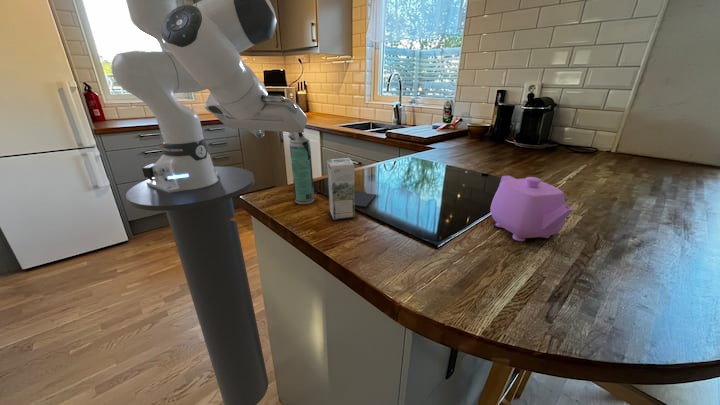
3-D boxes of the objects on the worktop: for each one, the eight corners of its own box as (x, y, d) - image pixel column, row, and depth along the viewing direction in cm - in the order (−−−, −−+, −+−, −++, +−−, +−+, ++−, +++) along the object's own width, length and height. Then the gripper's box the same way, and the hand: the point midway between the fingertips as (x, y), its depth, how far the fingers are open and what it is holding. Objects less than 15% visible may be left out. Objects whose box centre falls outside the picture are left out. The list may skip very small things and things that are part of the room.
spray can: (317, 198, 88) (312, 129, 80) (309, 205, 83) (303, 133, 75) (301, 196, 90) (294, 128, 82) (291, 203, 85) (284, 132, 77)
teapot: (474, 214, 77) (481, 167, 72) (516, 210, 79) (527, 164, 74) (529, 258, 59) (545, 199, 54) (582, 250, 61) (602, 193, 56)
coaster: (336, 203, 84) (336, 202, 84) (348, 192, 92) (348, 191, 92) (365, 208, 81) (365, 206, 81) (375, 196, 89) (375, 194, 89)
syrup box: (350, 208, 81) (348, 156, 75) (355, 218, 76) (354, 163, 70) (329, 211, 80) (326, 158, 74) (333, 221, 74) (330, 165, 68)
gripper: (293, 83, 56) (321, 127, 68) (210, 83, 63) (248, 123, 75) (283, 110, 54) (313, 151, 66) (197, 107, 61) (239, 145, 73)
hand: (278, 136), depth 71 cm, fingers open, 8 cm apart
